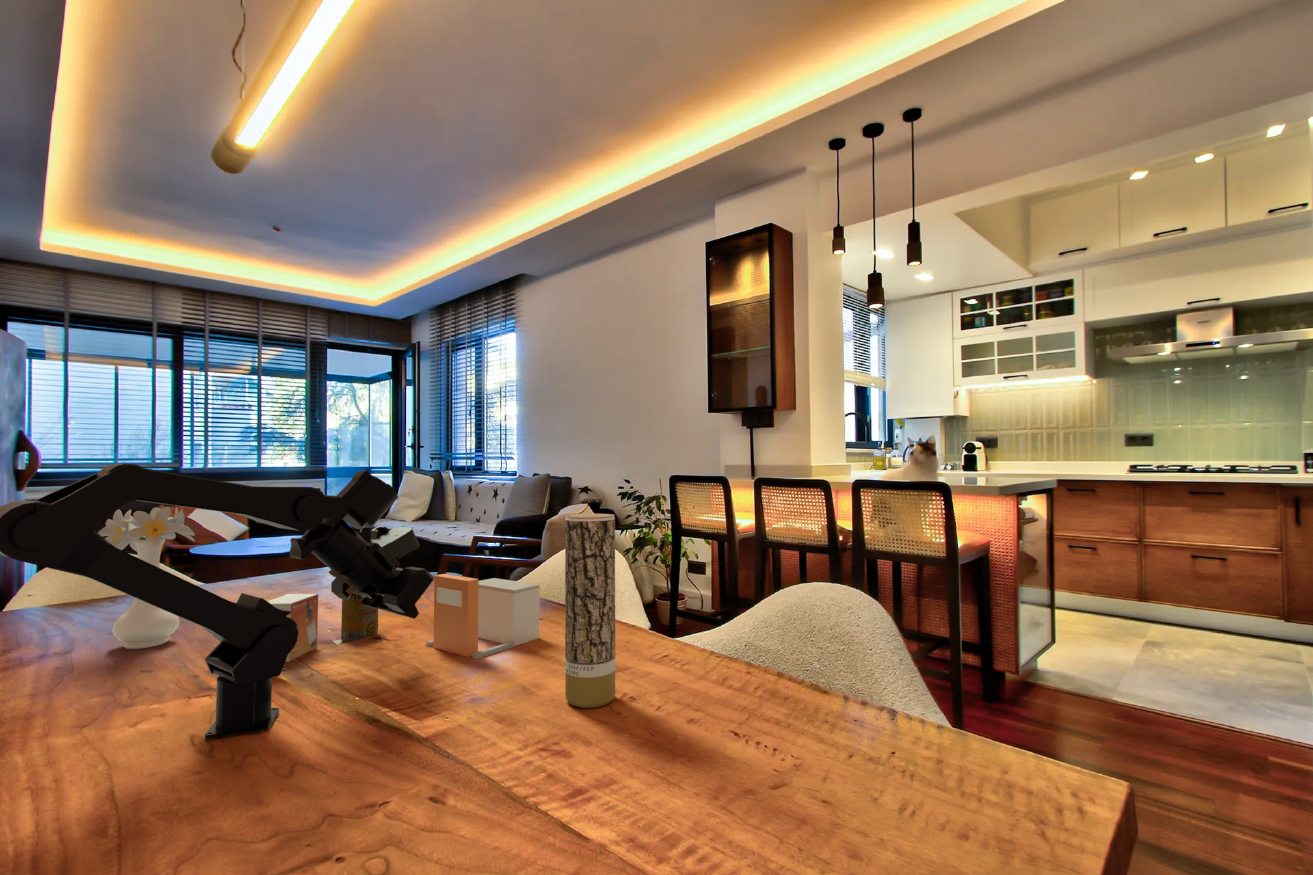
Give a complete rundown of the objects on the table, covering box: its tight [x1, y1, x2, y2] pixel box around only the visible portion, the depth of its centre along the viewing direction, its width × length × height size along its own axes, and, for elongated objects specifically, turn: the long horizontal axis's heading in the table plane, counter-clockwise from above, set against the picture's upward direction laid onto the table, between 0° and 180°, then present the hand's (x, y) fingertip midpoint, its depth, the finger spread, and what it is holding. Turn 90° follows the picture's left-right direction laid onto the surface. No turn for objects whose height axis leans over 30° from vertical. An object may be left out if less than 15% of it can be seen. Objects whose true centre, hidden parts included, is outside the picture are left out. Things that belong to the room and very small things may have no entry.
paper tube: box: [564, 513, 616, 709], centre depth 84 cm, size 7×7×25 cm
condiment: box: [332, 586, 379, 646], centre depth 111 cm, size 7×8×12 cm
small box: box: [267, 593, 319, 671], centre depth 100 cm, size 8×6×10 cm
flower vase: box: [97, 506, 196, 650], centre depth 111 cm, size 13×18×25 cm
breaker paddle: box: [433, 573, 480, 658], centre depth 101 cm, size 2×9×12 cm, turn 55°
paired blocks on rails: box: [425, 577, 540, 660], centre depth 104 cm, size 20×14×11 cm
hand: (415, 615), depth 95 cm, fingers closed
